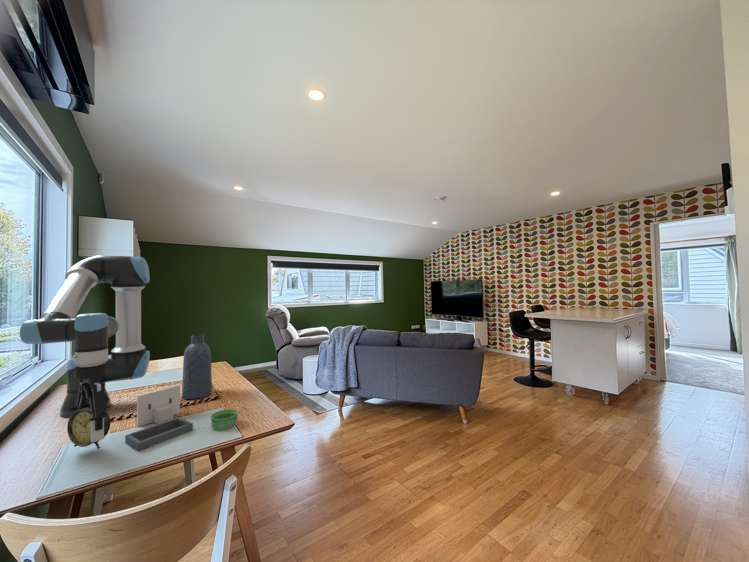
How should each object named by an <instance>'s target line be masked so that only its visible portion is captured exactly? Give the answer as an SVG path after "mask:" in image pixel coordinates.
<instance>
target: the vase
mask: <svg viewBox="0 0 749 562" xmlns="http://www.w3.org/2000/svg"><path fill="white" fill-rule="evenodd" d="M182 361H183V365H182V381H181V383H182V384H181V397H182V399H183V400H186V399H194V400H198V399H197V398H200V399H203V398H202V397H204V398H206V397H209V396H210V395H212V392H213V382H212V381H213V379H212V353H211V349H210V347H209V345H208V344H207V343H205V334H193V335H191V336H190V344H189V345H187V347H186V348H185V350H184V353H183V360H182ZM208 395H209V396H208ZM205 396H206V397H205Z"/></svg>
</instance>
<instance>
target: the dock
mask: <svg viewBox="0 0 749 562" xmlns="http://www.w3.org/2000/svg"><path fill="white" fill-rule="evenodd" d="M192 431H194V422H191V421H189V420H186V419H184V418H182V417H180V416H178V417H175V418H173V419H172V420H169V421H166V422H163V423H160V424H155V425H151V426H148V427H146V428H143V429H139V430H136V431H134V432H131V433H127V434H126V435H124V436H125V439H124V440H125V443H124V444H126V445H127V446H129V447H130V448H132V449H133V450H135V451H137V452H139V453H140V452H142V451H144V450H146V449H149V448H151V447H154V446H157V445H159V444H162V443H164V442H167V441H170V440H173V439H175V438H177V437H181V436H183V435H185V434H187V433H190V432H192Z"/></svg>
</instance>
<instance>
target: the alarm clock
mask: <svg viewBox="0 0 749 562" xmlns="http://www.w3.org/2000/svg"><path fill="white" fill-rule="evenodd" d="M86 401H87V398H86ZM87 403H88V404H89V406H88V407H87V408H84V409H81V410H78V411H76V412H75V413H73V414H72V416H71V417H69V419H68V422H67V434H68V438H69V440H70V441H71V443H72V444H74V445H73V447H75V448H76V447H79V448H80V447H82V448H85V447H88V446H90V445H92V444H95V446H96V448H97V450H99V449H100V448H101V446H100V445H99V442H100V441H101V440H99V441H96V442H93V443H92V442H91V421H89V420H90V419H91V418H93V417H92V412H91V407H90V402H88V401H87ZM100 414H101V413H100ZM98 415H99V414H98ZM110 429H111V416H110V413H109V412H108V411H107V417H104V438H105V437H106V436H107V435H108V433H109V431H110Z"/></svg>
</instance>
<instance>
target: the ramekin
mask: <svg viewBox="0 0 749 562" xmlns="http://www.w3.org/2000/svg"><path fill="white" fill-rule="evenodd" d="M238 414H239V411H238V410H237V409H234V408H226V409H221V410H218V411H215V412H213V413H212V414H211V415H210V422H211V429H212V430H213V431H217V432H221V431H227V430H231V429H232V428H234V427H235V426H236V425H237V422H238Z"/></svg>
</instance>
